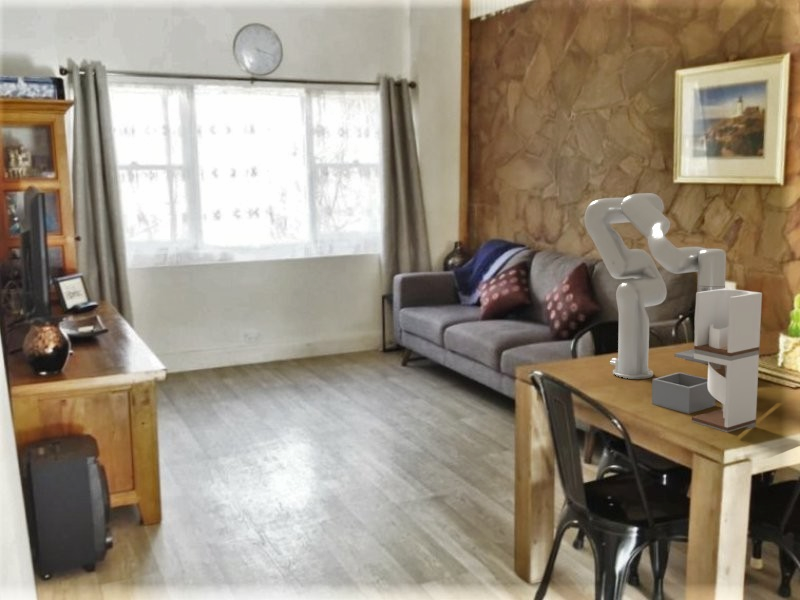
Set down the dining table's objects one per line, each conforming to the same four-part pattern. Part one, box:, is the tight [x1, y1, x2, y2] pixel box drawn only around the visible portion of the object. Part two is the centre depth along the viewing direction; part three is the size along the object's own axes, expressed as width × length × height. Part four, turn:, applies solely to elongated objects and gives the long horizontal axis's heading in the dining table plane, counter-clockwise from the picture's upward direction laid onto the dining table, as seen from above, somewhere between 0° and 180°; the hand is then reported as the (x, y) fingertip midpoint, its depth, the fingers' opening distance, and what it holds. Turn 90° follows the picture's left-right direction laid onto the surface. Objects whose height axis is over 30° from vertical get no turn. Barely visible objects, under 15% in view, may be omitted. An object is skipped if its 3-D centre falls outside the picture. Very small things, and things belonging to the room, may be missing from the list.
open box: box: [651, 371, 717, 415], centre depth 214 cm, size 12×12×8 cm
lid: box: [673, 348, 708, 365], centre depth 225 cm, size 14×14×8 cm
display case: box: [691, 287, 763, 433], centre depth 196 cm, size 11×11×35 cm
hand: (709, 352), depth 226 cm, fingers closed on lid, 3 cm apart
